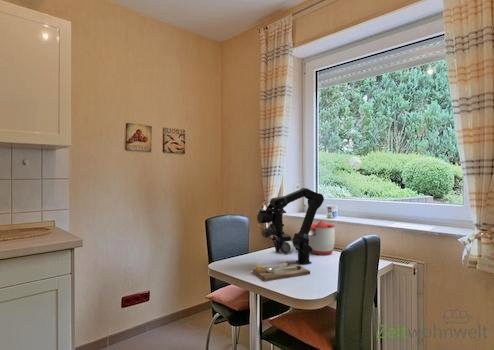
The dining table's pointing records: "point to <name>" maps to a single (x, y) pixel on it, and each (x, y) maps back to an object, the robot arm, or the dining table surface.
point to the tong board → (282, 272)
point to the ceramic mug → (287, 247)
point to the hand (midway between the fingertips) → (277, 251)
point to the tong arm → (277, 267)
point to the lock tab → (259, 268)
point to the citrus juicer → (322, 238)
